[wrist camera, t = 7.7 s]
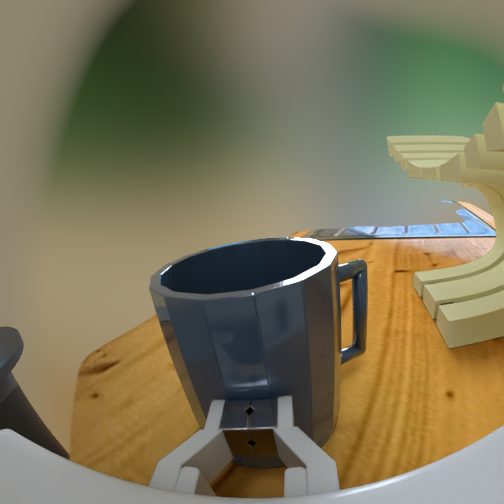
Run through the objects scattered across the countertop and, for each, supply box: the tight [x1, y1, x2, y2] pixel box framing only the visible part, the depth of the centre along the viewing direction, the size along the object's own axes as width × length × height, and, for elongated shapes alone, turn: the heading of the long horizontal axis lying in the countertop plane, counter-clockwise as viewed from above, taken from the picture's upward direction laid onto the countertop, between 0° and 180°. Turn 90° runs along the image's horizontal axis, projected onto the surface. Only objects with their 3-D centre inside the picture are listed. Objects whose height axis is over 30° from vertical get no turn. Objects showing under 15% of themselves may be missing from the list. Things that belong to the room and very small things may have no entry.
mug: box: [149, 237, 368, 468], centre depth 14 cm, size 11×8×10 cm
